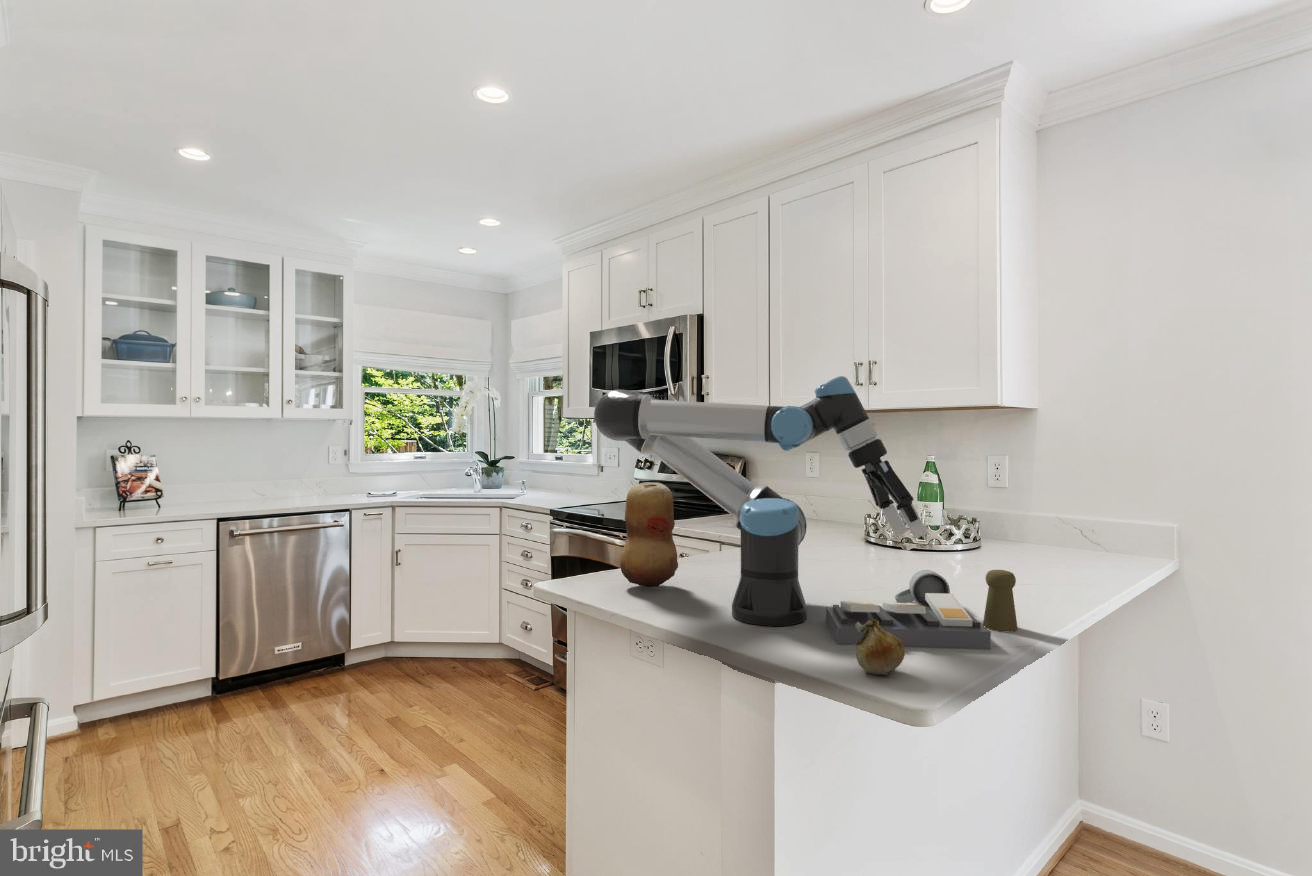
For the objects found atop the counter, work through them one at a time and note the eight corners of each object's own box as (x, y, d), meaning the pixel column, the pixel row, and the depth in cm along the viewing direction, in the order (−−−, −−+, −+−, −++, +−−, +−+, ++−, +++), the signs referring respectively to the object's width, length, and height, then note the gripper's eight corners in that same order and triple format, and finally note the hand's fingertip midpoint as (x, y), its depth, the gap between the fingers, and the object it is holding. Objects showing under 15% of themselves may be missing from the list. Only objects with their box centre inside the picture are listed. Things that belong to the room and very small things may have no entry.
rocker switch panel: (837, 644, 121) (838, 621, 121) (826, 621, 135) (826, 601, 135) (990, 648, 119) (990, 626, 119) (962, 626, 133) (962, 605, 133)
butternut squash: (631, 597, 156) (630, 489, 154) (613, 581, 169) (612, 481, 167) (687, 590, 161) (686, 485, 159) (666, 575, 174) (665, 478, 171)
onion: (851, 678, 105) (852, 626, 104) (855, 662, 112) (855, 613, 112) (904, 685, 102) (904, 631, 102) (904, 667, 109) (905, 618, 109)
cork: (1004, 633, 128) (1004, 575, 128) (975, 625, 133) (976, 569, 133) (1024, 629, 131) (1025, 571, 131) (996, 621, 136) (996, 566, 136)
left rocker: (850, 611, 122) (850, 604, 123) (840, 607, 133) (840, 600, 133) (879, 612, 122) (879, 605, 122) (866, 608, 133) (866, 601, 133)
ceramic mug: (942, 601, 152) (942, 566, 152) (950, 610, 144) (950, 574, 144) (892, 599, 154) (892, 565, 154) (897, 608, 146) (897, 572, 146)
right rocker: (942, 625, 121) (943, 618, 121) (925, 598, 132) (925, 592, 132) (972, 626, 121) (972, 619, 120) (951, 599, 131) (952, 593, 131)
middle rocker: (896, 612, 122) (896, 605, 122) (882, 608, 132) (882, 602, 133) (925, 613, 121) (925, 606, 121) (909, 609, 132) (908, 602, 132)
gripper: (894, 430, 134) (948, 528, 131) (865, 442, 158) (909, 525, 156) (860, 447, 134) (912, 545, 131) (835, 457, 159) (879, 540, 156)
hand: (911, 535), depth 143 cm, fingers open, 13 cm apart
